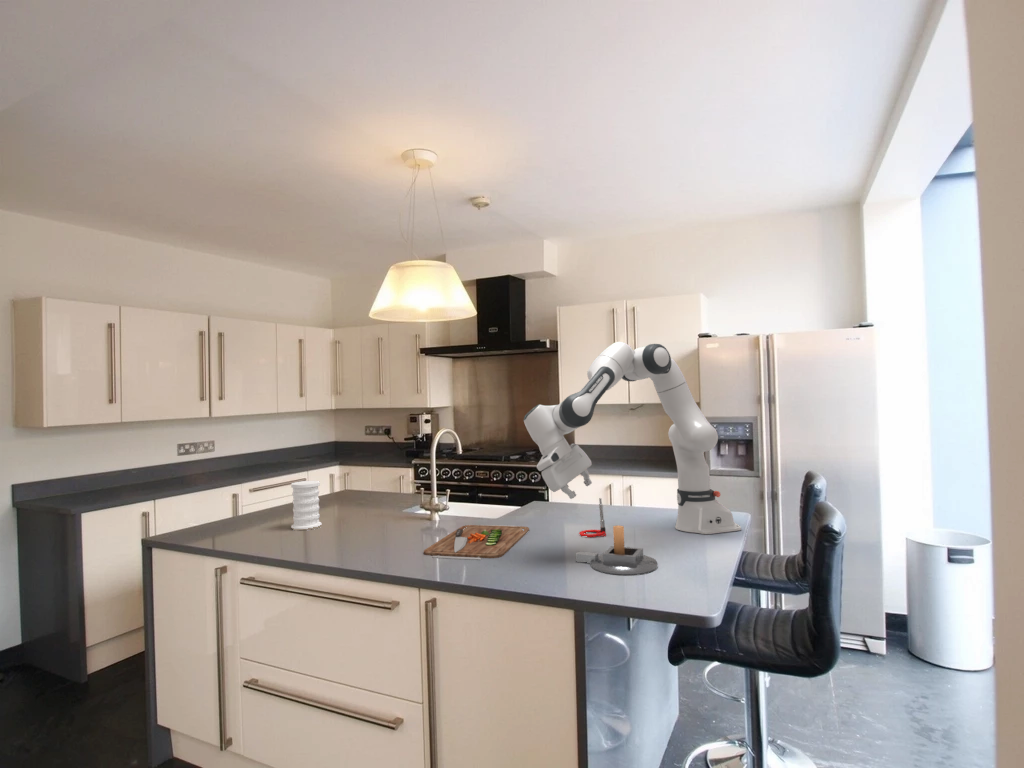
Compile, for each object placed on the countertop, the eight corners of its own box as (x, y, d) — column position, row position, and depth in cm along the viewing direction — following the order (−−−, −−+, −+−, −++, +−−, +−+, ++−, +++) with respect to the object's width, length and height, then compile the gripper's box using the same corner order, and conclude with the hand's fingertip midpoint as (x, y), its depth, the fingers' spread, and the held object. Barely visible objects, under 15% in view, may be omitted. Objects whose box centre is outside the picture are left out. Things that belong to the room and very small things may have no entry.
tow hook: (580, 539, 201) (607, 537, 201) (577, 502, 202) (603, 500, 201) (578, 533, 210) (604, 531, 209) (575, 498, 210) (601, 496, 210)
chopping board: (497, 562, 176) (497, 552, 176) (416, 558, 183) (416, 549, 184) (532, 528, 220) (532, 520, 220) (466, 526, 227) (466, 519, 227)
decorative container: (285, 529, 231) (284, 483, 231) (310, 523, 241) (309, 479, 241) (303, 532, 224) (301, 485, 225) (327, 526, 234) (326, 481, 234)
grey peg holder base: (587, 552, 182) (587, 539, 182) (663, 559, 172) (662, 545, 172) (566, 569, 165) (566, 555, 165) (649, 578, 155) (649, 563, 155)
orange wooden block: (623, 559, 170) (622, 525, 170) (626, 562, 167) (625, 527, 167) (613, 560, 169) (612, 525, 170) (616, 563, 166) (614, 528, 167)
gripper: (568, 445, 192) (591, 481, 190) (533, 469, 176) (557, 508, 175) (581, 437, 188) (605, 474, 186) (546, 461, 172) (571, 501, 171)
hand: (581, 491), depth 180 cm, fingers open, 8 cm apart
